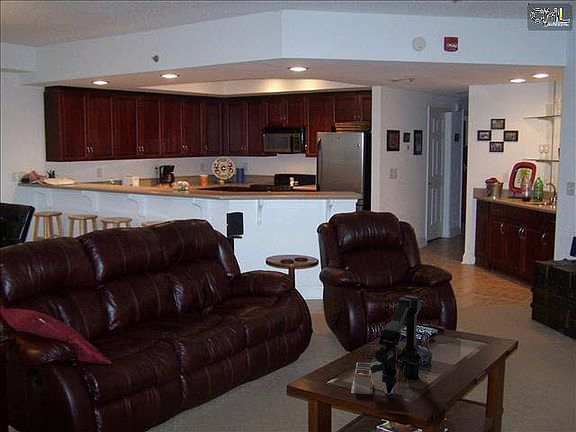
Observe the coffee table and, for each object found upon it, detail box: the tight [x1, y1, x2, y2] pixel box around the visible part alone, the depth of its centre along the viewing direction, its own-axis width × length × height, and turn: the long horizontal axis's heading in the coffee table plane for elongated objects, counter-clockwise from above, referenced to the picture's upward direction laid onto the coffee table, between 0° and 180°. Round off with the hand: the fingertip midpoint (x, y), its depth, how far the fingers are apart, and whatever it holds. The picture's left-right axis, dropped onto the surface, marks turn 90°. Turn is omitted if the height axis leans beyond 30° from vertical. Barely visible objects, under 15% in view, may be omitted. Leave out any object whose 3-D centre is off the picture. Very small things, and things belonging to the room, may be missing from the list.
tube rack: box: [350, 362, 374, 395], centre depth 289 cm, size 18×9×9 cm, turn 171°
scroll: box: [375, 314, 404, 357], centre depth 337 cm, size 15×15×20 cm
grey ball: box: [383, 385, 394, 395], centre depth 281 cm, size 4×4×4 cm
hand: (388, 391), depth 281 cm, fingers closed on grey ball, 4 cm apart
